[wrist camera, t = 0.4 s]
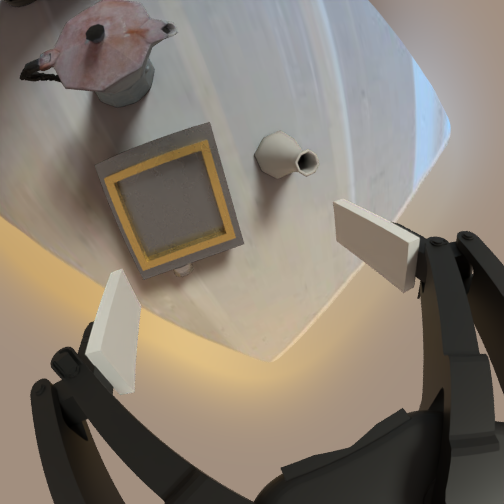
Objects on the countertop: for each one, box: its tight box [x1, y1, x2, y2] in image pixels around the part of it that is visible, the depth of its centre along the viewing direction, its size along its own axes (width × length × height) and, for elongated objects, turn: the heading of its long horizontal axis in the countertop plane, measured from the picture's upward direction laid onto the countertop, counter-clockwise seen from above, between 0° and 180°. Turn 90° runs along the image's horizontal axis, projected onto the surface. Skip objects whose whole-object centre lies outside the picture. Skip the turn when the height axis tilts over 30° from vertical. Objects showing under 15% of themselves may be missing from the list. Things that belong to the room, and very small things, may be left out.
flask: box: [254, 131, 320, 179], centre depth 35 cm, size 7×7×10 cm
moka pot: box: [20, 0, 178, 107], centre depth 20 cm, size 10×15×20 cm, turn 98°
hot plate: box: [95, 122, 244, 280], centre depth 35 cm, size 19×15×8 cm
